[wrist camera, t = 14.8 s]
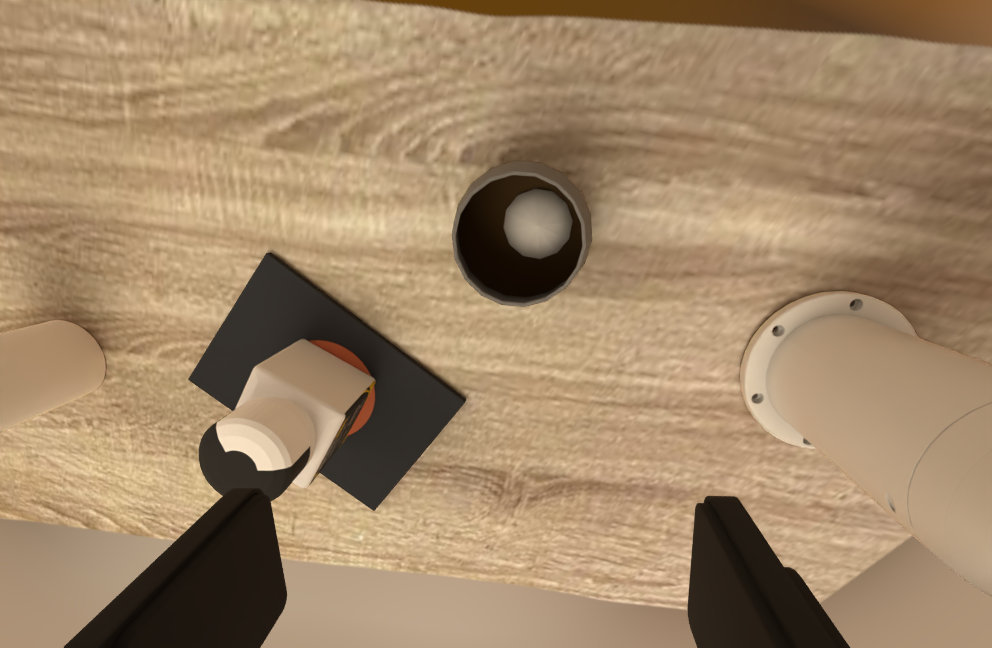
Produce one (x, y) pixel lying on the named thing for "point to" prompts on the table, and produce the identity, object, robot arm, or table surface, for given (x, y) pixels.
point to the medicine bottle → (285, 422)
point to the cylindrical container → (46, 369)
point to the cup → (521, 233)
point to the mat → (322, 321)
